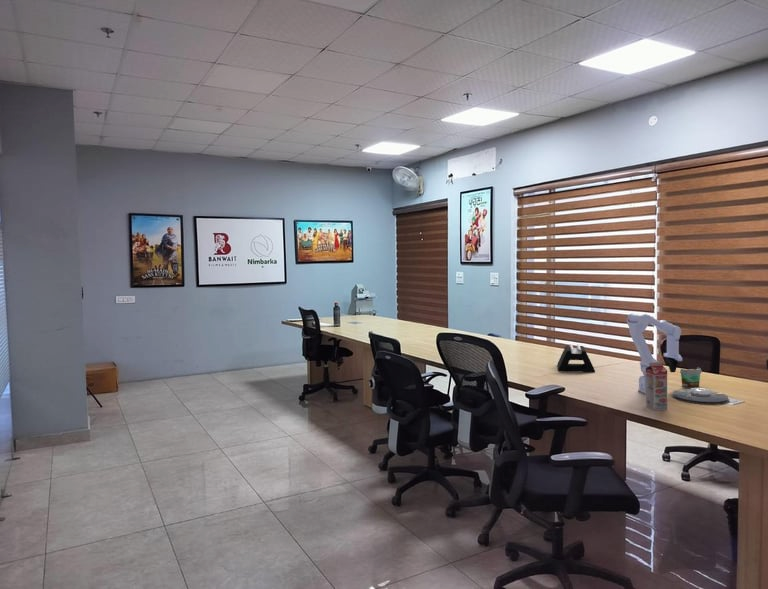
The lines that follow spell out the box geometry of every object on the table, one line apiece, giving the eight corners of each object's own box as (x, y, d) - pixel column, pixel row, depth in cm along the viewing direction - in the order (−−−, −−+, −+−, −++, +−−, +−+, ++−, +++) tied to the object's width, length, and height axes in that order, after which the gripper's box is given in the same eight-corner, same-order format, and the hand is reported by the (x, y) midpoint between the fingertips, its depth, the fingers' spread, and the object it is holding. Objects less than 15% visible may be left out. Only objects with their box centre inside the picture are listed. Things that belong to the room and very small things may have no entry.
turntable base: (691, 405, 254) (691, 404, 254) (661, 393, 279) (661, 392, 279) (741, 403, 255) (741, 402, 255) (707, 391, 280) (707, 390, 280)
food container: (689, 389, 287) (689, 370, 286) (679, 386, 293) (679, 368, 292) (707, 387, 290) (707, 369, 290) (697, 384, 296) (697, 367, 296)
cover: (698, 397, 262) (698, 392, 262) (686, 393, 271) (686, 388, 271) (715, 396, 263) (715, 391, 262) (702, 392, 272) (702, 387, 271)
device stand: (558, 371, 344) (557, 348, 344) (557, 365, 366) (557, 343, 365) (595, 372, 338) (594, 349, 337) (592, 366, 359) (591, 344, 359)
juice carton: (645, 406, 254) (645, 361, 253) (658, 406, 255) (658, 361, 253) (653, 410, 247) (653, 363, 246) (667, 409, 248) (667, 363, 247)
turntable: (691, 403, 255) (691, 400, 255) (663, 392, 279) (663, 389, 279) (739, 401, 256) (739, 399, 255) (707, 390, 279) (707, 388, 279)
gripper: (687, 349, 279) (687, 374, 280) (672, 345, 294) (672, 369, 295) (674, 349, 279) (674, 374, 280) (659, 345, 294) (659, 369, 294)
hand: (672, 372), depth 287 cm, fingers closed
